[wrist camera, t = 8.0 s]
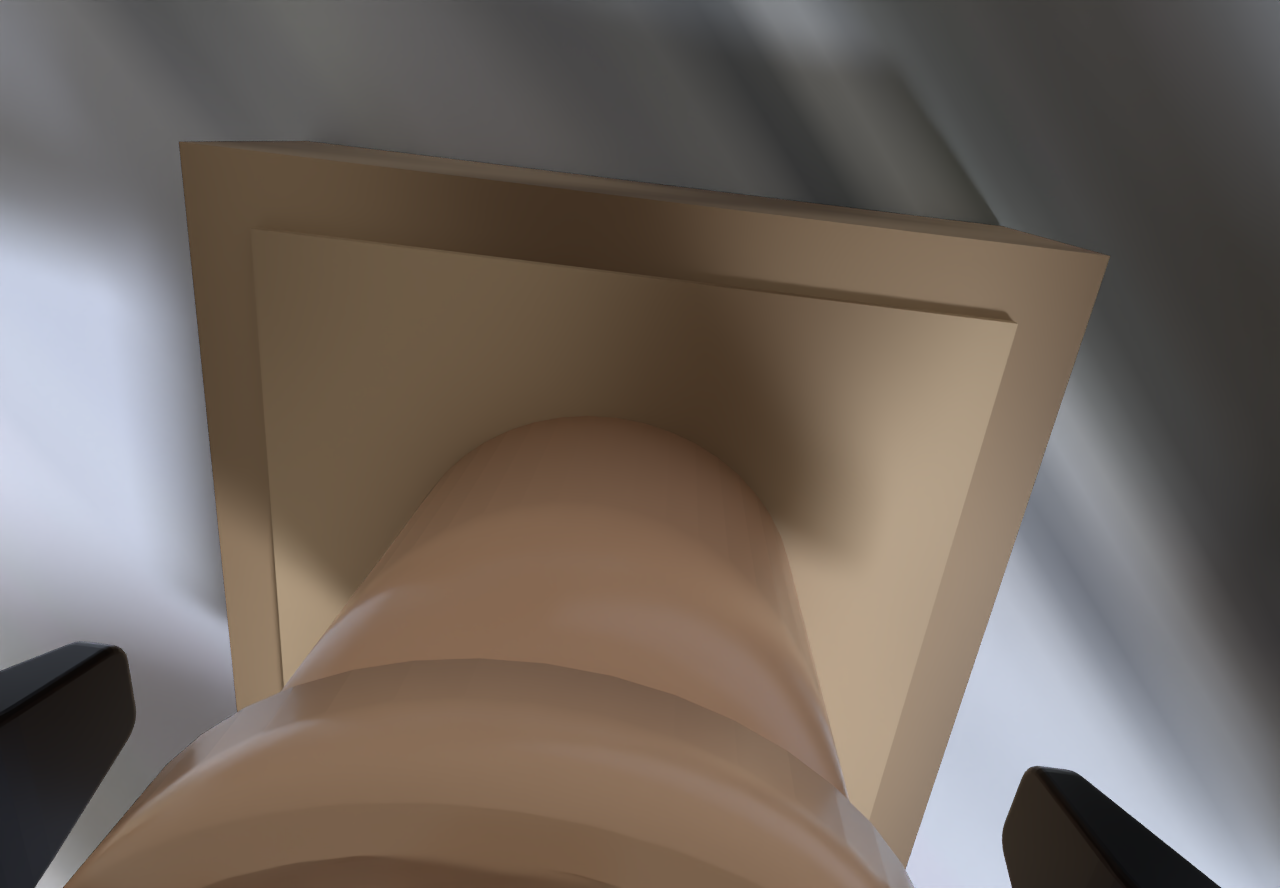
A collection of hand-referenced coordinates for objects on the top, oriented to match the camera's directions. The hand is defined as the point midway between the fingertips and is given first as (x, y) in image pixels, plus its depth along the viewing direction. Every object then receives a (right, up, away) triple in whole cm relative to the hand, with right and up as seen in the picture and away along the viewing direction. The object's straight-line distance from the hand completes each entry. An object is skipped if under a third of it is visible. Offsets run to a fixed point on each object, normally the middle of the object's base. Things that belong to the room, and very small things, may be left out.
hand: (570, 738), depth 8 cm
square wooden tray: (0, +2, +5) cm, 6 cm away
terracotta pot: (0, +1, +2) cm, 2 cm away
